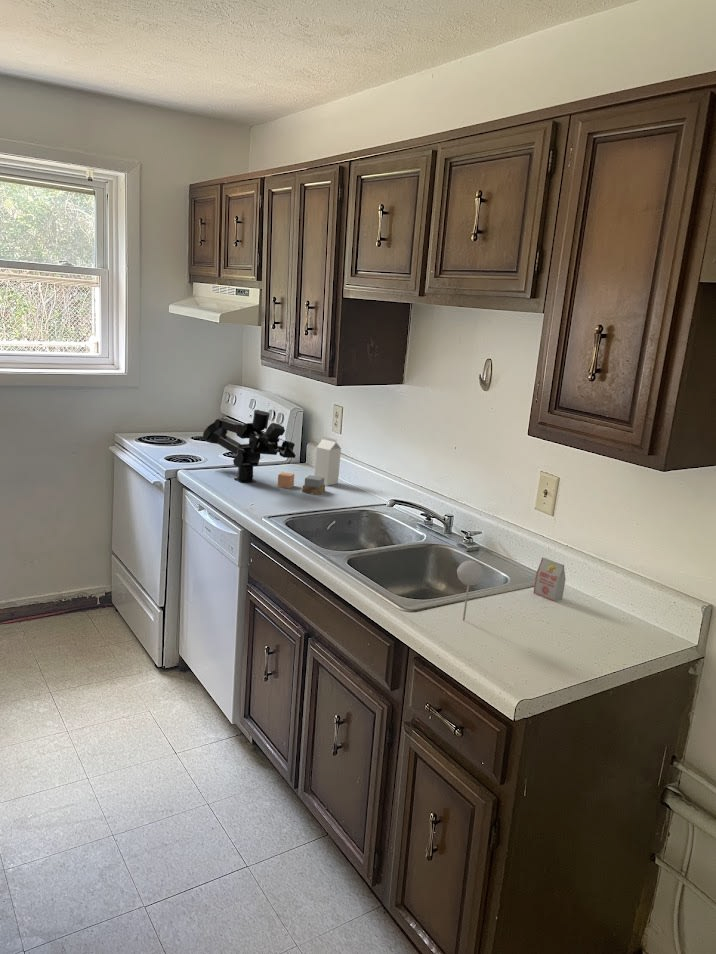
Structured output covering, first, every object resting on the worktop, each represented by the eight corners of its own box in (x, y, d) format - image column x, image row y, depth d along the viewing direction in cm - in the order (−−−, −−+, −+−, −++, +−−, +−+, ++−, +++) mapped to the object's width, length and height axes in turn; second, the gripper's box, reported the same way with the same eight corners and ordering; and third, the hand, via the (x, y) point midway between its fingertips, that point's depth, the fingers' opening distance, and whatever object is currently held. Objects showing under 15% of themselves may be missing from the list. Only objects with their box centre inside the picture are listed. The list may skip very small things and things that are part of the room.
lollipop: (474, 615, 176) (481, 558, 172) (478, 626, 170) (486, 566, 166) (449, 614, 175) (456, 556, 172) (452, 624, 169) (460, 564, 166)
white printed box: (541, 590, 197) (546, 556, 194) (562, 599, 192) (568, 564, 190) (533, 593, 194) (538, 558, 192) (554, 601, 189) (559, 566, 187)
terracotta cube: (277, 486, 283) (278, 474, 282) (281, 484, 288) (282, 472, 287) (289, 488, 282) (290, 476, 281) (293, 486, 287) (294, 473, 286)
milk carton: (327, 486, 291) (330, 440, 287) (313, 482, 295) (317, 437, 291) (338, 483, 296) (341, 438, 292) (324, 480, 301) (328, 435, 296)
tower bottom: (302, 493, 278) (302, 485, 277) (308, 489, 285) (308, 482, 284) (319, 495, 276) (320, 488, 276) (324, 491, 283) (325, 484, 282)
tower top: (304, 485, 278) (305, 478, 277) (309, 482, 283) (309, 475, 283) (319, 487, 276) (319, 480, 276) (323, 484, 282) (324, 477, 281)
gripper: (250, 416, 268) (274, 431, 258) (287, 424, 282) (311, 438, 272) (240, 444, 270) (264, 459, 260) (277, 450, 284) (301, 465, 274)
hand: (285, 455), depth 267 cm, fingers open, 9 cm apart
